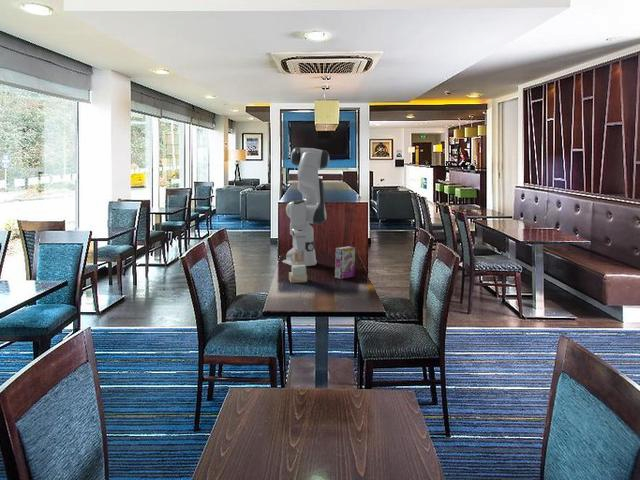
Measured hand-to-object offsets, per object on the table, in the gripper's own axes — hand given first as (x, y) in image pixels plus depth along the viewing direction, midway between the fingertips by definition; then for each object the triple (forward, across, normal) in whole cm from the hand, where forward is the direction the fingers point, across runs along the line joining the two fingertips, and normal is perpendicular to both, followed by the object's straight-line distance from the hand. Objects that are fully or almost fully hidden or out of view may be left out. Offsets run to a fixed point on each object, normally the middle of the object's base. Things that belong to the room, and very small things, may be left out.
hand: (298, 257), depth 294 cm
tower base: (+13, 0, 0) cm, 13 cm away
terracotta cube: (+2, 0, 0) cm, 2 cm away
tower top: (+9, 0, 0) cm, 9 cm away
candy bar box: (+13, -4, +26) cm, 29 cm away
